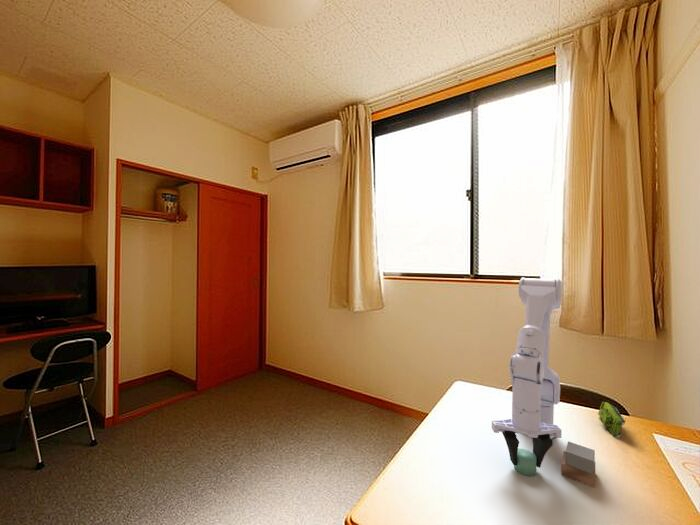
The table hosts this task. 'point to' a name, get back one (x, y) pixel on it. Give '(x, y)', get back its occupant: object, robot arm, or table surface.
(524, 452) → the green cylinder
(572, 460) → the gray block
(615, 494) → the table surface
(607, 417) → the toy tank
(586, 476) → the walnut block
